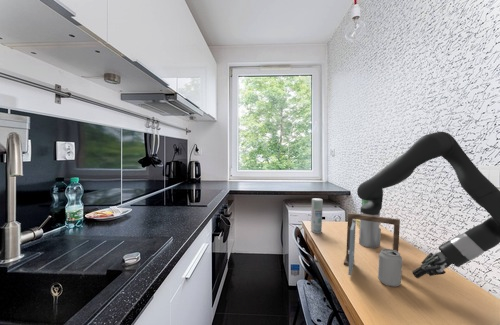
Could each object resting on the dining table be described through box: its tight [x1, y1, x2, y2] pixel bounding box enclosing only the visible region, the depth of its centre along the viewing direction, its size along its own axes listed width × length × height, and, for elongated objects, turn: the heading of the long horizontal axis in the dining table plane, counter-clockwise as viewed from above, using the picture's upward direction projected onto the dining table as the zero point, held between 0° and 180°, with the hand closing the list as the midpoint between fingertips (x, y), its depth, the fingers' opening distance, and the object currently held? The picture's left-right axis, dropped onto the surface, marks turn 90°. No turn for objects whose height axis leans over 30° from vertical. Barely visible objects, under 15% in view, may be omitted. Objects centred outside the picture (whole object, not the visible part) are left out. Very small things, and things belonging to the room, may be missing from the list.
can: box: [377, 248, 403, 288], centre depth 88 cm, size 8×8×12 cm
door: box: [347, 220, 357, 276], centre depth 97 cm, size 14×2×18 cm, turn 152°
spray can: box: [310, 197, 324, 234], centre depth 144 cm, size 6×6×20 cm
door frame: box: [343, 212, 401, 267], centre depth 100 cm, size 21×8×22 cm, turn 62°
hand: (414, 275), depth 85 cm, fingers closed
